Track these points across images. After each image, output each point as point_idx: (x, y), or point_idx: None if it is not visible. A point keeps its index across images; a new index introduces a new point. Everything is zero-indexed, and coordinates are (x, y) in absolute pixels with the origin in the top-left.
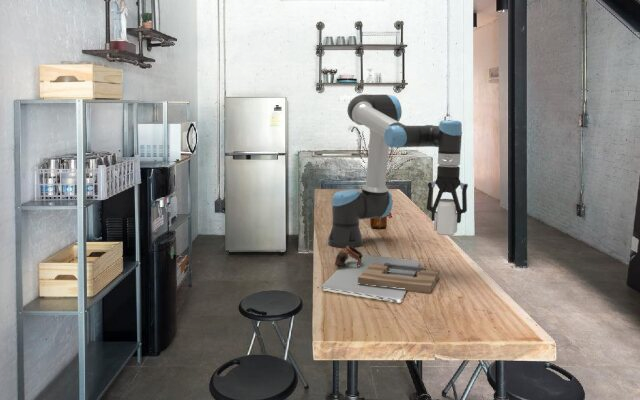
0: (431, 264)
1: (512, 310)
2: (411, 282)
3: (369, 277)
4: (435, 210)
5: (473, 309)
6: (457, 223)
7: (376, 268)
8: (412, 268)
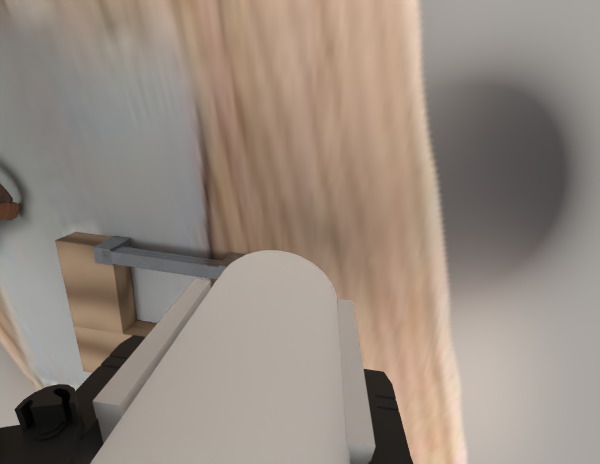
0: (245, 100)
1: (451, 445)
2: None
3: None
4: (86, 458)
5: None
6: (358, 343)
7: (91, 292)
8: (194, 272)
